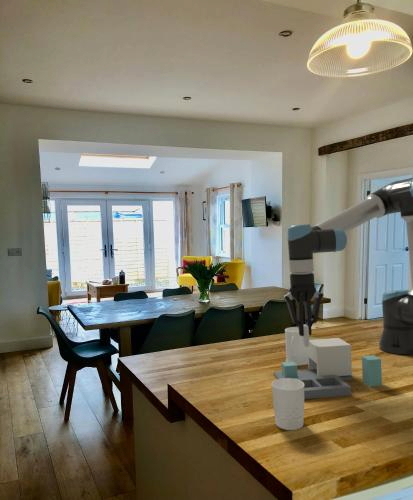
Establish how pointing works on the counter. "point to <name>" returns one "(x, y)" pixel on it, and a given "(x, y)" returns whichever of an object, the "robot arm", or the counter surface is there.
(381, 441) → the counter surface
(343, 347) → the cover
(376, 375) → the peg
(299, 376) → the board
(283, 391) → the white cup
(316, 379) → the socket board
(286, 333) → the mug
